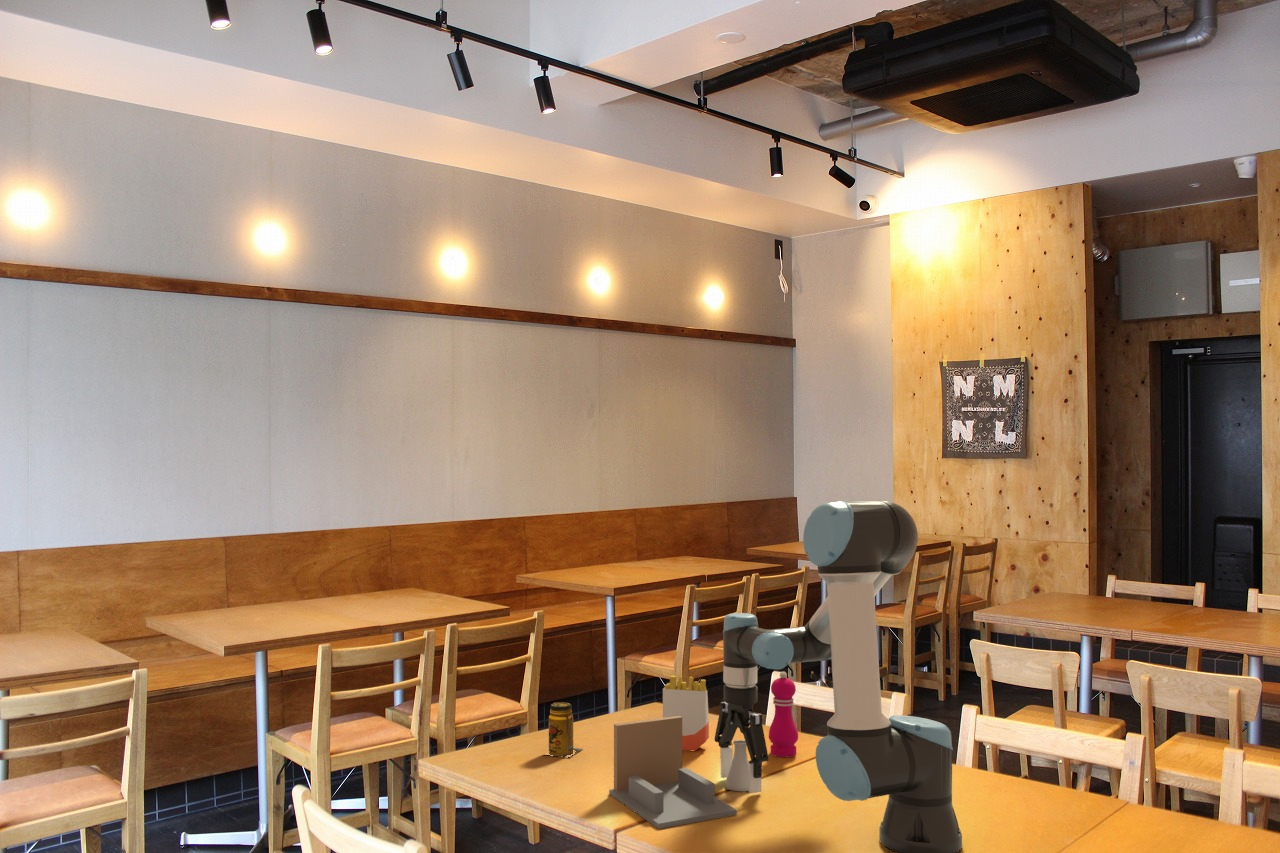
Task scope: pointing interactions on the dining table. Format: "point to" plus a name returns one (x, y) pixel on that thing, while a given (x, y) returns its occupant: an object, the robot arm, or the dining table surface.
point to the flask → (739, 769)
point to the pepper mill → (783, 718)
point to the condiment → (561, 730)
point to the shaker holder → (661, 775)
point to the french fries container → (688, 710)
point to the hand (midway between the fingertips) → (740, 784)
